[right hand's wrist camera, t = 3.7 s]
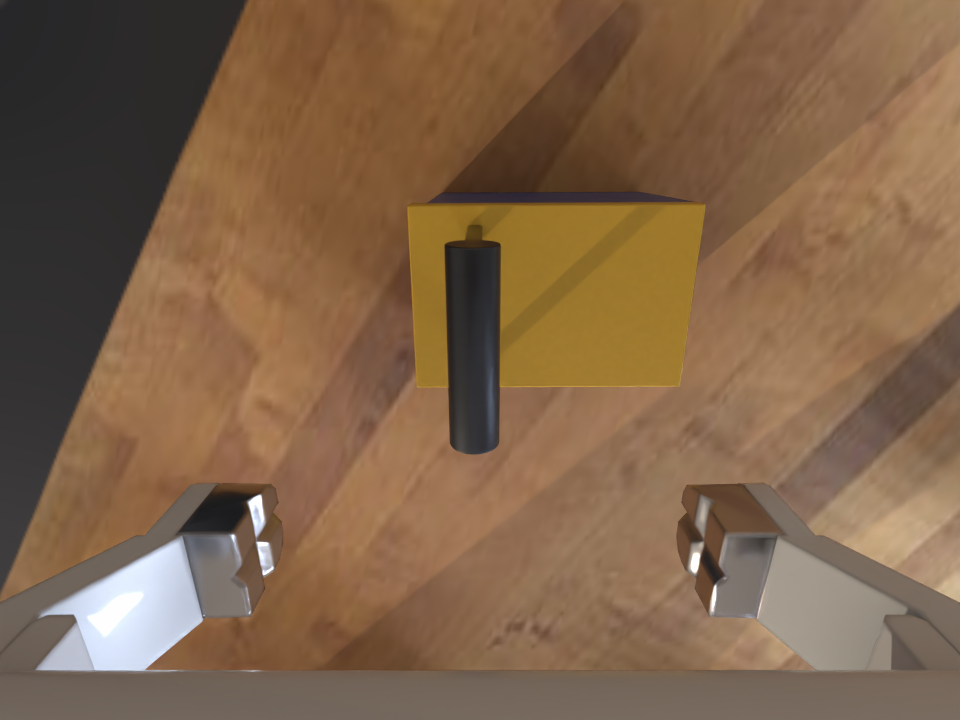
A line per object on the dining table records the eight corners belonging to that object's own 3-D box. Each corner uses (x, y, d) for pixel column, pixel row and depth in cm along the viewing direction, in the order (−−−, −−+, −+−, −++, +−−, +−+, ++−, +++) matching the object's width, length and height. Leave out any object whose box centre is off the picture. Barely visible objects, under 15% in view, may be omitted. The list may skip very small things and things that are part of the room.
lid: (419, 378, 29) (391, 472, 20) (410, 203, 26) (373, 223, 17) (672, 377, 29) (755, 471, 20) (696, 201, 25) (808, 222, 17)
